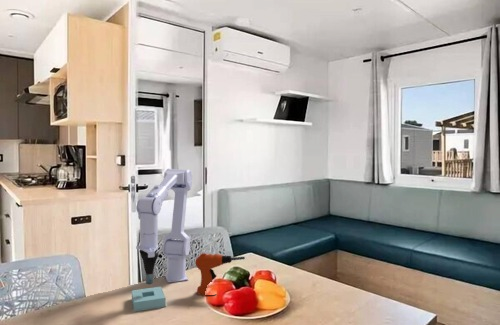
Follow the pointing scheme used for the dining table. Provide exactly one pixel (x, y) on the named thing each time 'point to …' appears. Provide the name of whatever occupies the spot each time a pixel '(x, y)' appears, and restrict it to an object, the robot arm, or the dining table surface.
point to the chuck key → (149, 278)
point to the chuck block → (148, 298)
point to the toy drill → (210, 268)
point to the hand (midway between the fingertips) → (148, 272)
